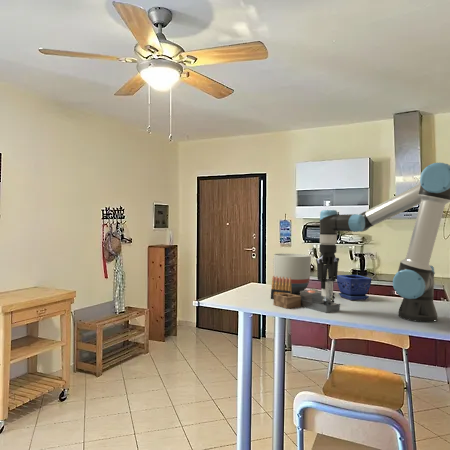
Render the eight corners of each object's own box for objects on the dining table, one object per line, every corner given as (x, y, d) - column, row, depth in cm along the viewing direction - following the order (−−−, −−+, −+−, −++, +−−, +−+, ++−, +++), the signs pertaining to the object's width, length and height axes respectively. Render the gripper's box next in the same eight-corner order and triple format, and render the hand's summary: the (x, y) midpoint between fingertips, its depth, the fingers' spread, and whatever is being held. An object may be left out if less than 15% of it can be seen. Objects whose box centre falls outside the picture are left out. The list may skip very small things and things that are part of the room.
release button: (316, 298, 191) (317, 291, 191) (311, 299, 189) (311, 291, 189) (311, 297, 194) (311, 290, 194) (305, 298, 192) (306, 290, 192)
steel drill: (332, 305, 184) (332, 279, 184) (327, 306, 182) (327, 279, 182) (326, 304, 186) (326, 278, 186) (321, 305, 184) (321, 278, 184)
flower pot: (355, 295, 223) (356, 274, 223) (371, 300, 210) (372, 277, 210) (335, 296, 219) (335, 274, 219) (350, 301, 206) (350, 278, 206)
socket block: (339, 310, 184) (340, 295, 183) (326, 312, 178) (326, 297, 178) (309, 303, 198) (310, 289, 198) (296, 305, 193) (297, 290, 193)
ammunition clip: (291, 300, 205) (292, 276, 205) (290, 301, 203) (291, 277, 203) (271, 298, 209) (272, 275, 209) (270, 298, 208) (271, 275, 207)
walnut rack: (300, 306, 190) (300, 296, 190) (286, 308, 185) (287, 297, 185) (287, 303, 198) (287, 292, 198) (273, 305, 192) (273, 294, 192)
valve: (306, 302, 201) (329, 306, 194) (307, 289, 201) (330, 292, 194) (312, 300, 206) (334, 304, 199) (312, 287, 206) (335, 290, 199)
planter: (308, 297, 213) (309, 257, 213) (269, 295, 219) (270, 255, 218) (311, 291, 232) (312, 254, 232) (275, 289, 238) (276, 252, 238)
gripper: (333, 243, 192) (332, 292, 192) (309, 243, 182) (308, 295, 182) (346, 244, 186) (345, 295, 186) (322, 244, 176) (321, 298, 176)
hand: (327, 295), depth 184 cm, fingers closed on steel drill, 3 cm apart
